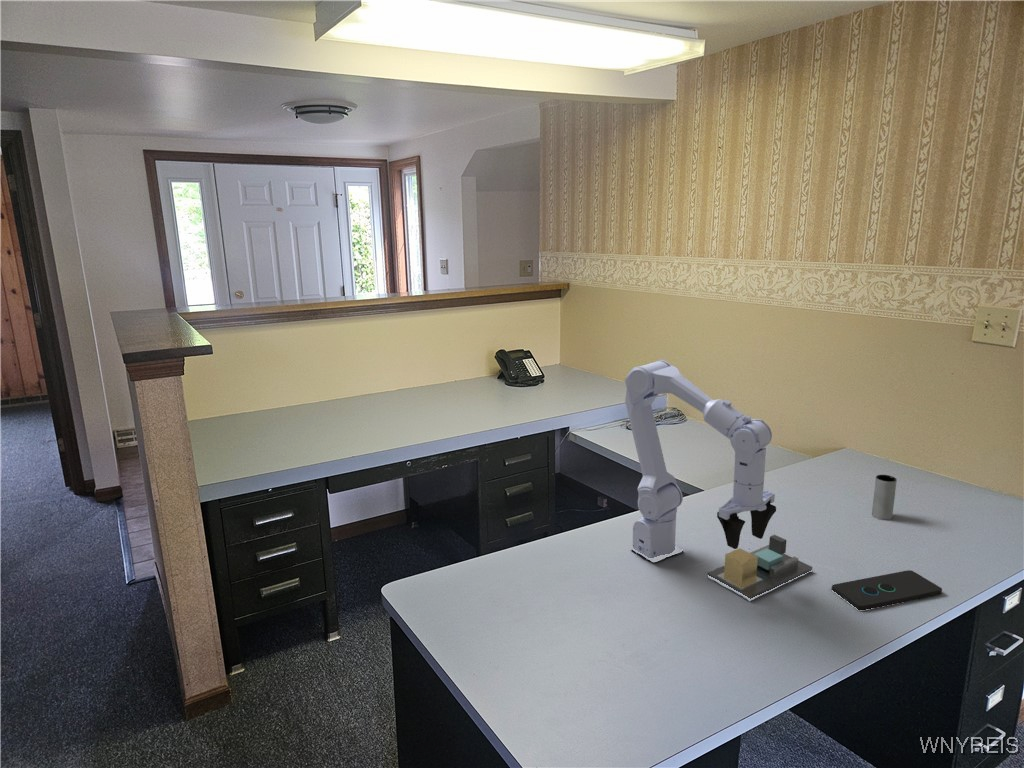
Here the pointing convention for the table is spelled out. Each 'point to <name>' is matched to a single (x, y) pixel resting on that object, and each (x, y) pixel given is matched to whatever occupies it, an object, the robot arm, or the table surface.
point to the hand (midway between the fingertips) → (745, 541)
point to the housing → (740, 566)
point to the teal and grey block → (772, 552)
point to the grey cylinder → (884, 497)
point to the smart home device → (886, 590)
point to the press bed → (765, 575)
